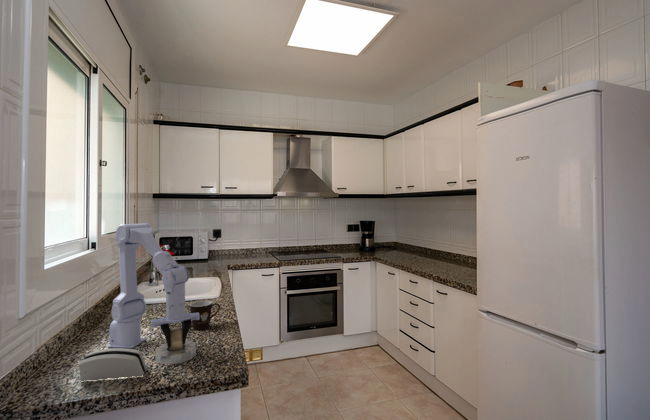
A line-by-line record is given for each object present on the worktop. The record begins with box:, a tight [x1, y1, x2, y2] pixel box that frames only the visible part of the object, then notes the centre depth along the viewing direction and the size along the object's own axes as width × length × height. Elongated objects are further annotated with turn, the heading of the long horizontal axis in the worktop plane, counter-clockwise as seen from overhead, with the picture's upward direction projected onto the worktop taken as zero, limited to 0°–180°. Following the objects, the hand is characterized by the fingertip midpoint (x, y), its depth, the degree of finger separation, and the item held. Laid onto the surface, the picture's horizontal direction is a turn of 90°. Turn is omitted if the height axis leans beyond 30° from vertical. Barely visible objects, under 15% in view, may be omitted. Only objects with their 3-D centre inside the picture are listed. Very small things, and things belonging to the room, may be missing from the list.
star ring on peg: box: [155, 339, 197, 365], centre depth 108 cm, size 12×12×3 cm
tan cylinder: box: [170, 326, 183, 351], centre depth 108 cm, size 4×4×7 cm
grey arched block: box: [78, 347, 149, 382], centre depth 94 cm, size 17×5×10 cm, turn 99°
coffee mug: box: [189, 300, 221, 332], centre depth 135 cm, size 12×9×10 cm
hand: (176, 344), depth 108 cm, fingers closed on tan cylinder, 4 cm apart
